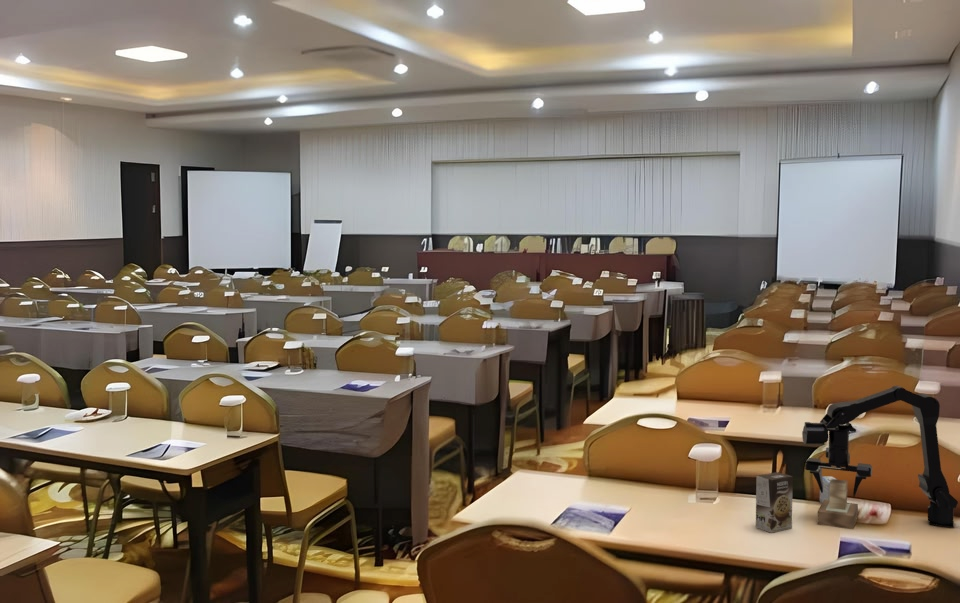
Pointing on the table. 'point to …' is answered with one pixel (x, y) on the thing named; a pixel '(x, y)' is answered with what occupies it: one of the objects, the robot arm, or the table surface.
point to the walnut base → (838, 515)
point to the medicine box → (826, 488)
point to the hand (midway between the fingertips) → (838, 494)
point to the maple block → (838, 494)
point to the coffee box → (774, 502)
